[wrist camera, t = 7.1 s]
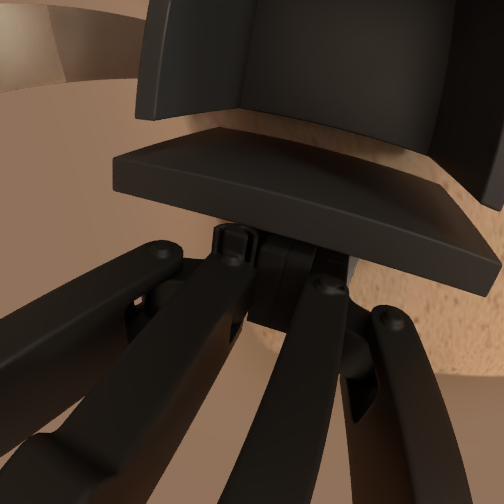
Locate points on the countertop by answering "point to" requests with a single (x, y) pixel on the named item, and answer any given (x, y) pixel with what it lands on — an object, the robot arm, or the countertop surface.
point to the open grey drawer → (331, 123)
